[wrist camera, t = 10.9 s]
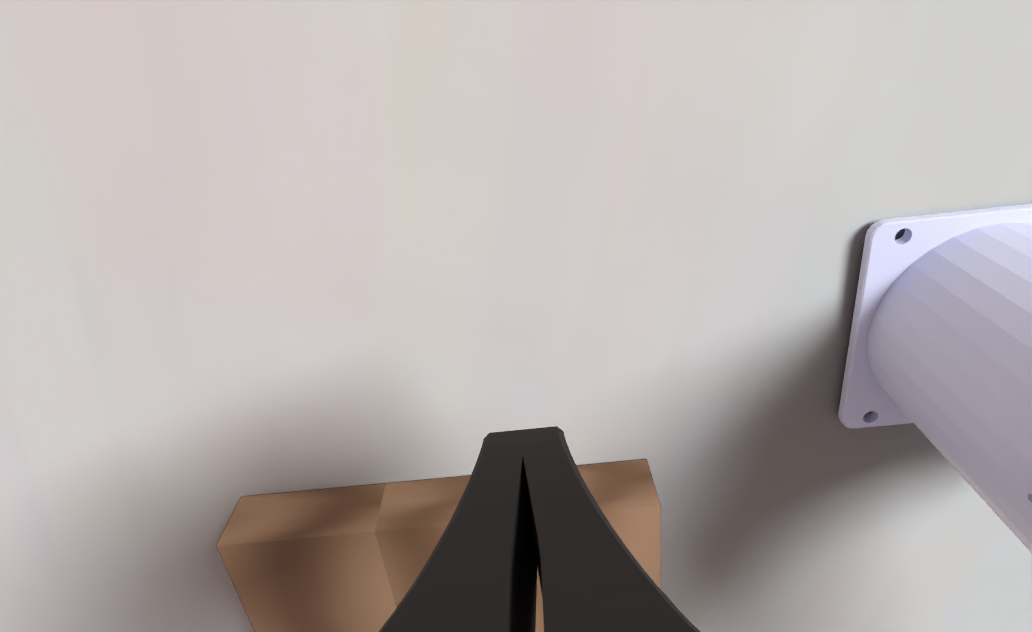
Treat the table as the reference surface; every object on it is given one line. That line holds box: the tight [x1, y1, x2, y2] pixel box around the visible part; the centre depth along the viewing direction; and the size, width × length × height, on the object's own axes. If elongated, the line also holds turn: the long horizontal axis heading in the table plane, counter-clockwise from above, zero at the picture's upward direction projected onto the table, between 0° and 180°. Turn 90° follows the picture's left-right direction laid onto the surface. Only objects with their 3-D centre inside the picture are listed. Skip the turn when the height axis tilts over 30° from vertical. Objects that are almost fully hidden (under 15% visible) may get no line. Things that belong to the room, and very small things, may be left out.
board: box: [216, 459, 661, 632], centre depth 27 cm, size 16×12×2 cm
